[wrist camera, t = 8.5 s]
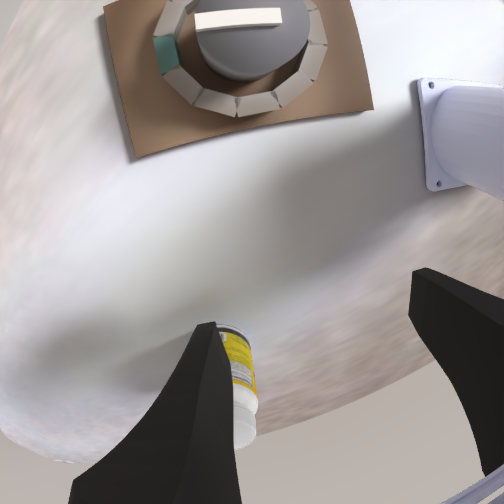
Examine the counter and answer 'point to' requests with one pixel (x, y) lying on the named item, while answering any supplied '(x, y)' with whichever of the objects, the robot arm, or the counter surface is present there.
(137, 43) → the hub plate
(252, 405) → the supplement bottle
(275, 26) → the knob
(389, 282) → the counter surface
